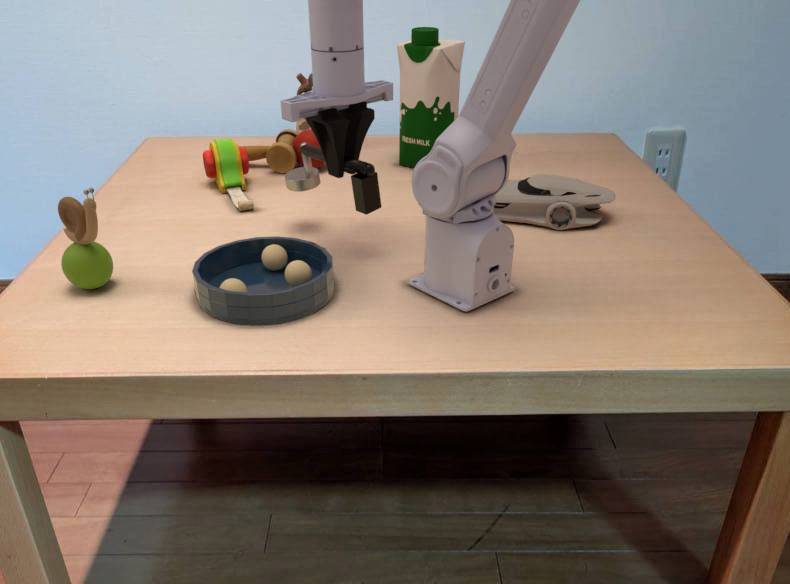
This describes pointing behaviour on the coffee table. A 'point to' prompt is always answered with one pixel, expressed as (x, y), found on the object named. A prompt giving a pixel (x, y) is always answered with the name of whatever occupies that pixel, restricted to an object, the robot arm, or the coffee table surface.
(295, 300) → the bowl
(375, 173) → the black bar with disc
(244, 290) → the dumpling
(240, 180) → the toy measuring tape
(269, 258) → the dumpling
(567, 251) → the coffee table surface
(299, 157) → the kendama
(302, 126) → the figurine
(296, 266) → the dumpling
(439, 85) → the milk carton
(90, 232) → the snail figurine
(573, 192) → the car model
